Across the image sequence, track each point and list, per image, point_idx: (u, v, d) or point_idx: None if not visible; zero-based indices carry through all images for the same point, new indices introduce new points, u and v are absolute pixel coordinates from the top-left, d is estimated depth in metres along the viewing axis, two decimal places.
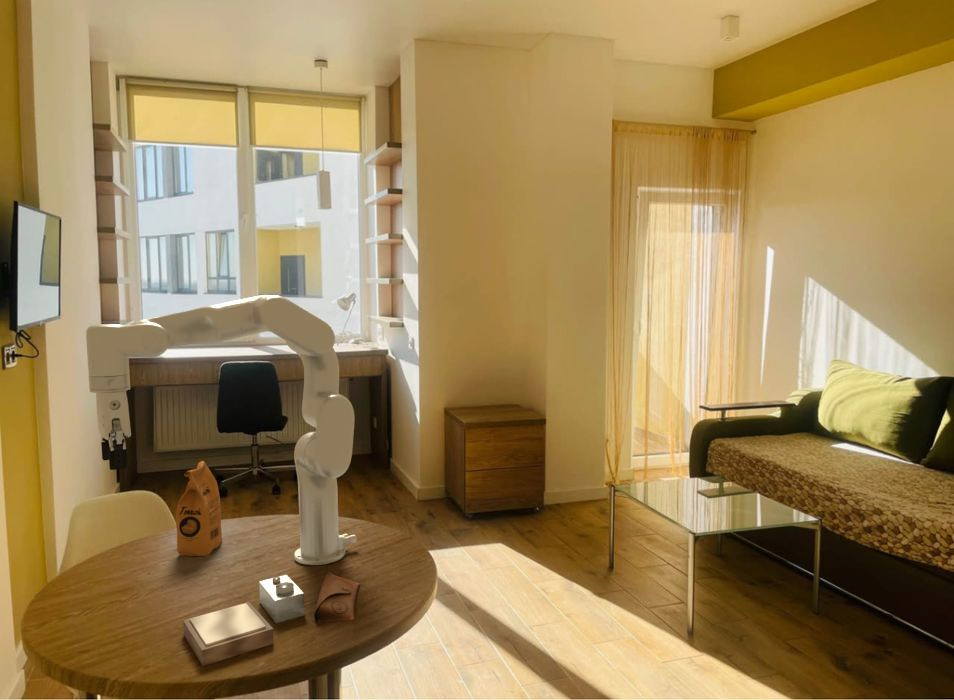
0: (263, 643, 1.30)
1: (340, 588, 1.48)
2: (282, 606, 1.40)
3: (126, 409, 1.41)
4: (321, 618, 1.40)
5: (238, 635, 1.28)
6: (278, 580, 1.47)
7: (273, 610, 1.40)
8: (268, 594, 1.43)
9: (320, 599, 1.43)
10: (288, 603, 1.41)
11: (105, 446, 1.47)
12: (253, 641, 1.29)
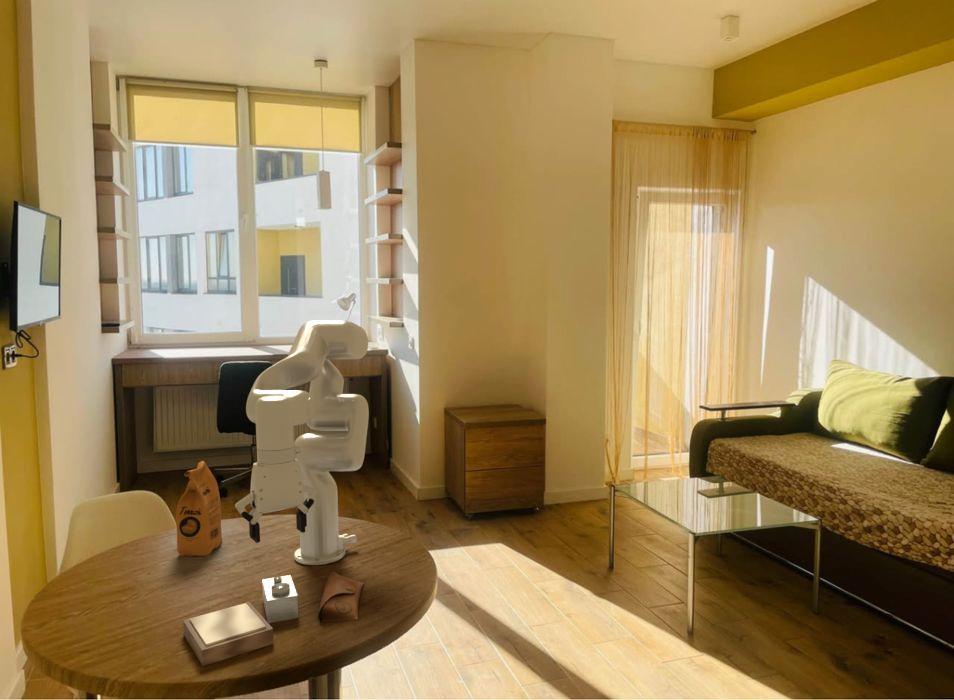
0: (263, 643, 1.30)
1: (344, 587, 1.48)
2: (274, 607, 1.40)
3: None
4: (325, 618, 1.40)
5: (238, 635, 1.28)
6: (279, 580, 1.47)
7: None
8: (265, 593, 1.43)
9: (324, 599, 1.43)
10: (281, 604, 1.40)
11: None
12: (253, 641, 1.29)
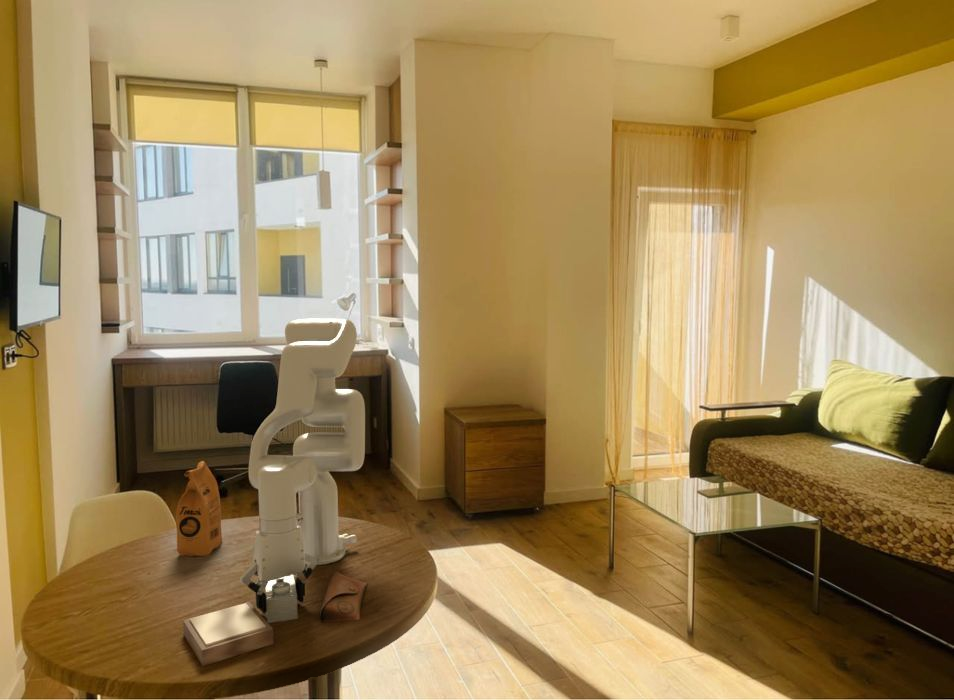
0: (263, 643, 1.30)
1: (346, 588, 1.48)
2: (274, 606, 1.40)
3: None
4: (327, 618, 1.40)
5: (238, 635, 1.28)
6: (281, 579, 1.47)
7: None
8: None
9: (326, 599, 1.43)
10: (280, 604, 1.40)
11: None
12: (253, 641, 1.29)
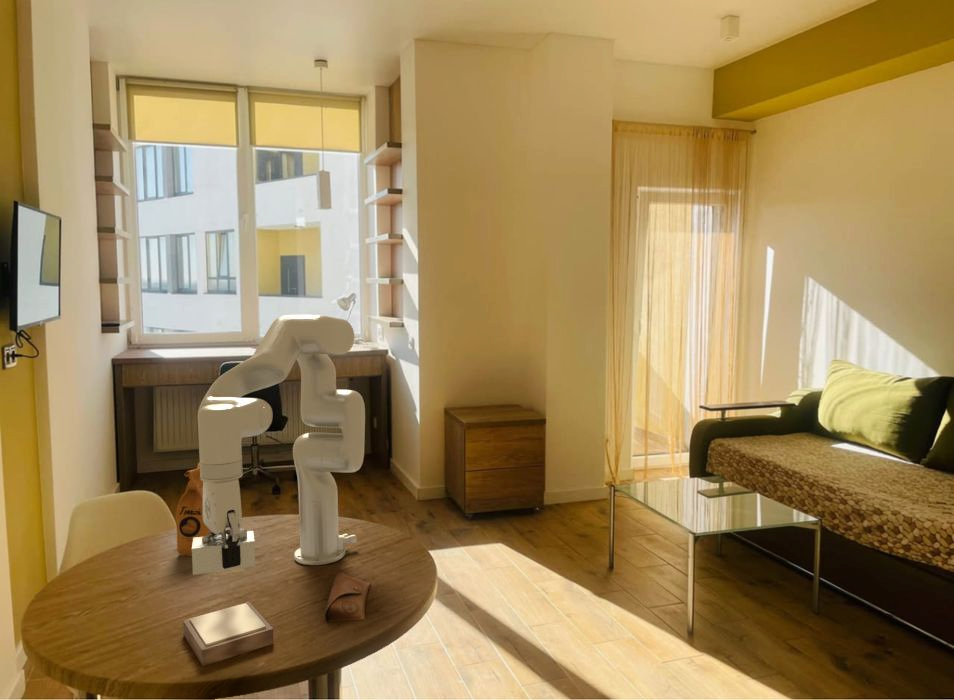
0: (263, 643, 1.30)
1: (351, 588, 1.48)
2: None
3: None
4: (332, 618, 1.40)
5: (238, 635, 1.28)
6: (210, 538, 1.31)
7: (247, 555, 1.30)
8: None
9: (331, 599, 1.43)
10: None
11: None
12: (253, 641, 1.29)
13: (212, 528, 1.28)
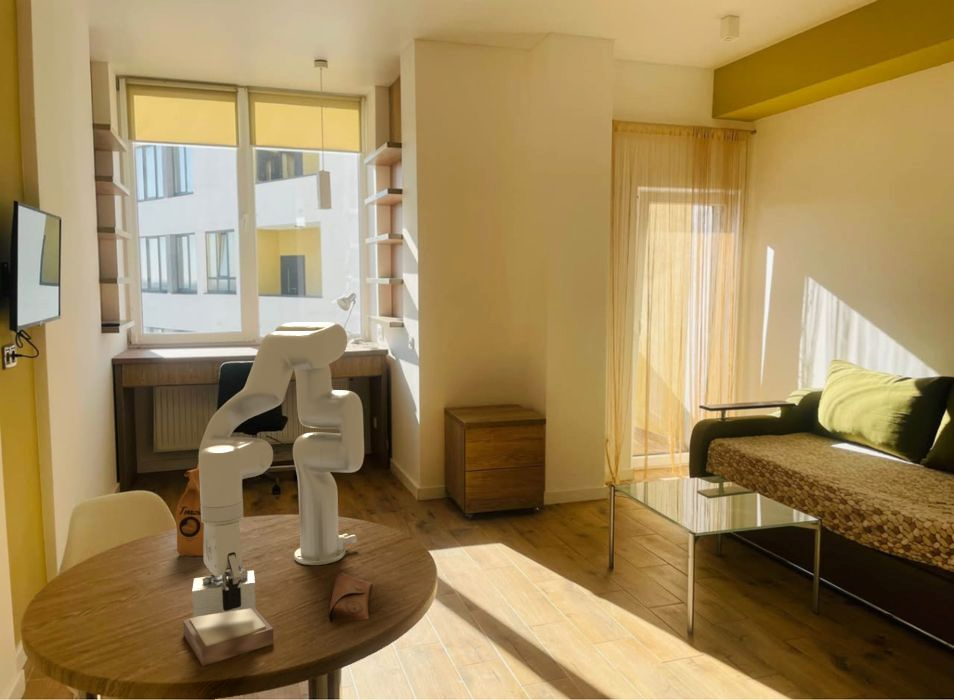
0: (263, 643, 1.30)
1: (353, 587, 1.49)
2: None
3: None
4: (336, 618, 1.40)
5: (238, 635, 1.28)
6: (211, 579, 1.31)
7: (247, 596, 1.31)
8: None
9: (334, 599, 1.43)
10: None
11: None
12: (253, 641, 1.29)
13: (213, 570, 1.28)
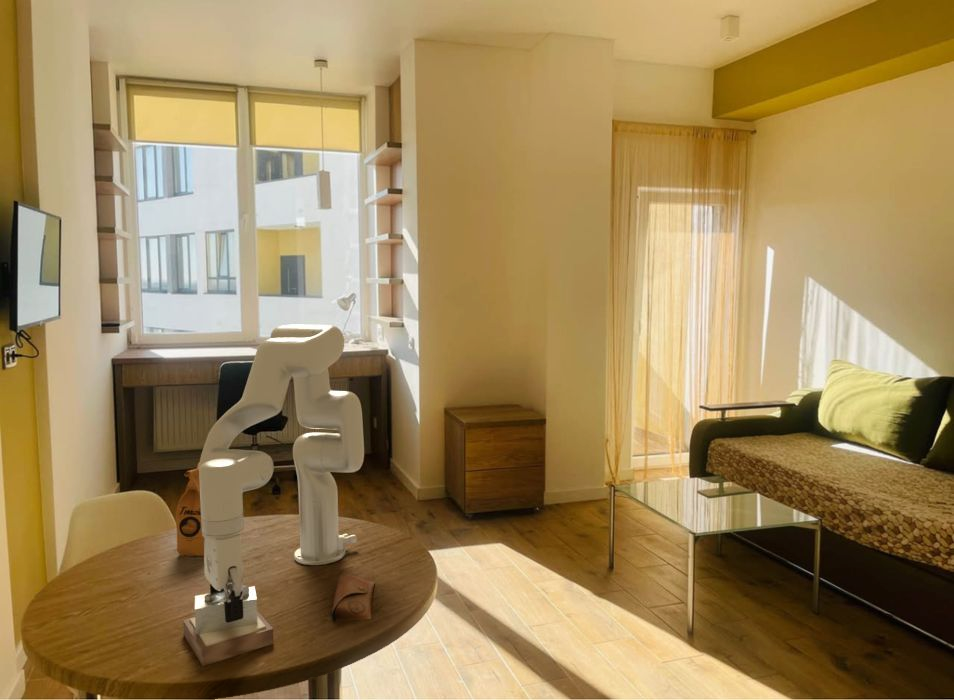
0: (263, 643, 1.30)
1: (356, 587, 1.49)
2: None
3: None
4: (339, 618, 1.40)
5: (238, 635, 1.28)
6: (213, 596, 1.32)
7: (249, 613, 1.31)
8: None
9: (337, 599, 1.43)
10: None
11: None
12: (253, 641, 1.29)
13: (213, 584, 1.28)
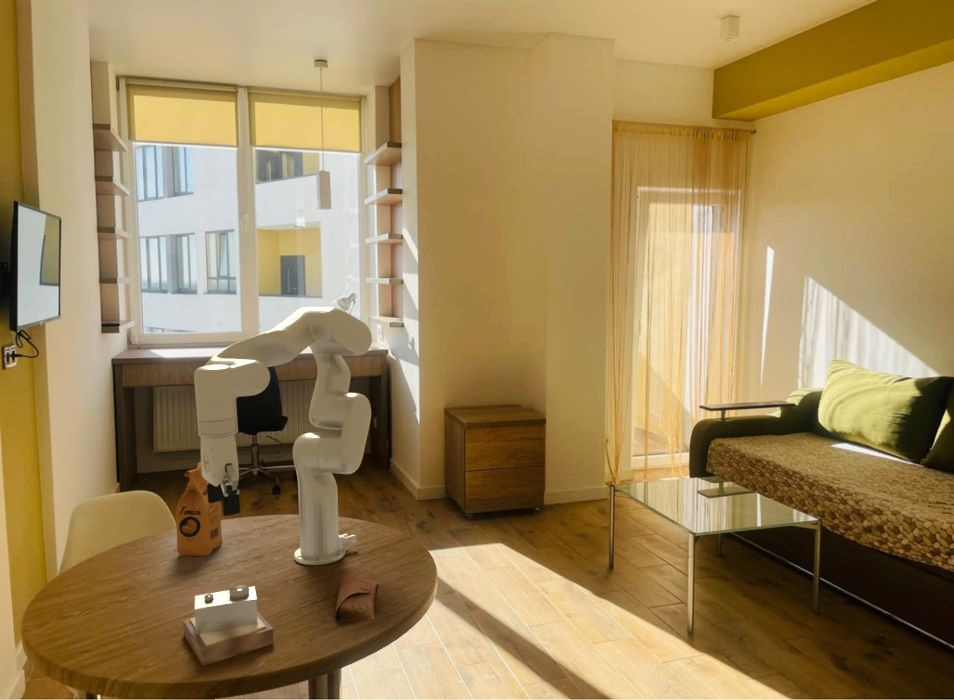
0: (263, 643, 1.30)
1: (359, 587, 1.49)
2: None
3: None
4: (342, 618, 1.40)
5: (238, 635, 1.28)
6: (213, 596, 1.32)
7: (249, 613, 1.31)
8: (232, 605, 1.30)
9: (340, 599, 1.43)
10: None
11: None
12: (253, 641, 1.29)
13: (211, 480, 1.36)
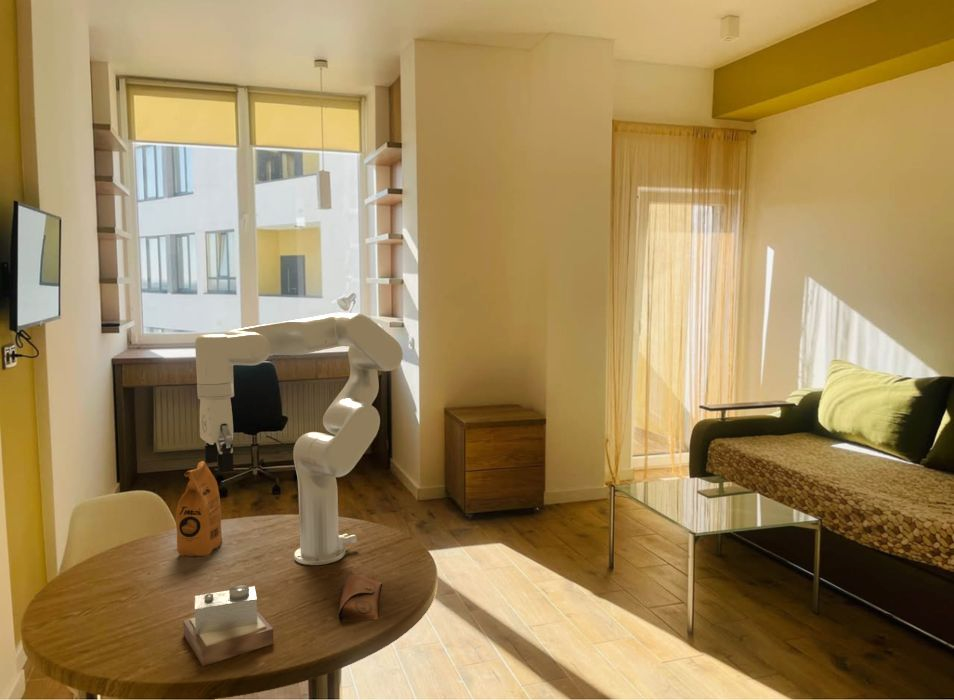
0: (263, 643, 1.30)
1: (363, 587, 1.49)
2: None
3: None
4: (346, 618, 1.40)
5: (238, 635, 1.28)
6: (213, 596, 1.32)
7: (249, 613, 1.31)
8: (232, 605, 1.30)
9: (344, 599, 1.43)
10: None
11: None
12: (253, 641, 1.29)
13: (208, 439, 1.48)
